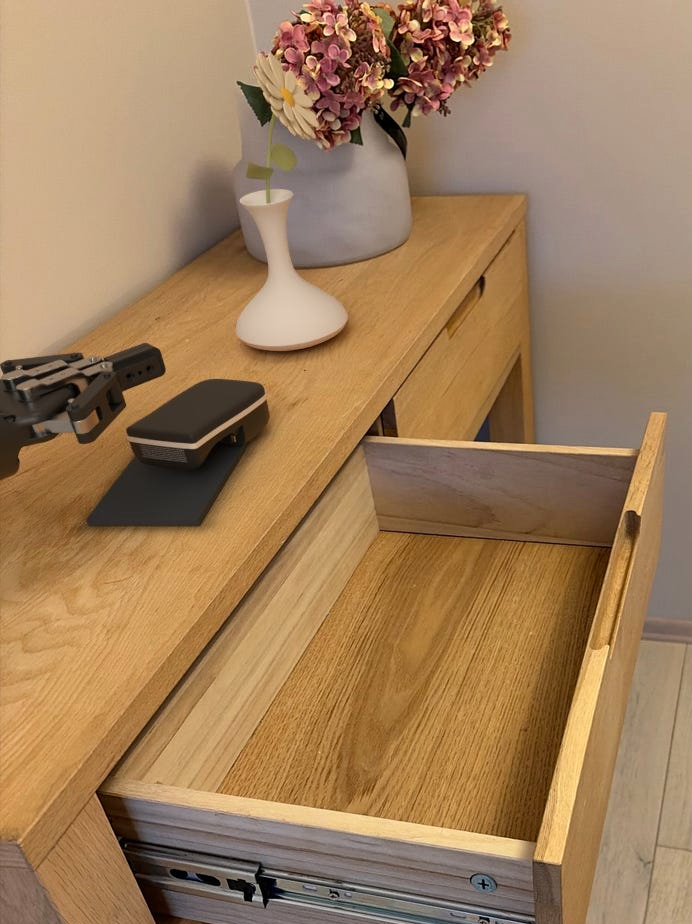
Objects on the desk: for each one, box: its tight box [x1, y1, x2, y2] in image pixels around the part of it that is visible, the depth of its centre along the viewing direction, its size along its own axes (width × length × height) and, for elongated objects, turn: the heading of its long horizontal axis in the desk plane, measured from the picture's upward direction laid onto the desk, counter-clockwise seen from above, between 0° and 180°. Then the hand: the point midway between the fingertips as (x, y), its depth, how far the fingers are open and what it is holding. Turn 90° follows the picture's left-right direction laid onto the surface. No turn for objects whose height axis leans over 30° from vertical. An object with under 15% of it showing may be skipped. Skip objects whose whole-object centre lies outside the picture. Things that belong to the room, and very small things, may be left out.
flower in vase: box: [235, 52, 349, 352], centre depth 93 cm, size 13×11×25 cm
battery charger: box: [125, 378, 271, 470], centre depth 81 cm, size 7×4×11 cm
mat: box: [85, 440, 251, 527], centre depth 79 cm, size 9×13×1 cm
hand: (157, 357), depth 73 cm, fingers closed
